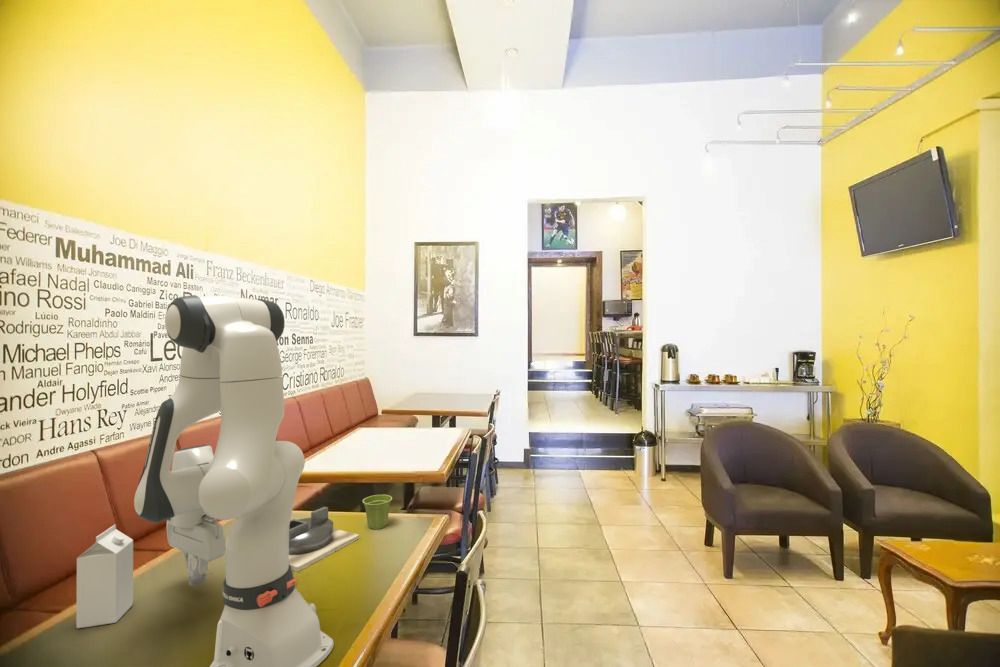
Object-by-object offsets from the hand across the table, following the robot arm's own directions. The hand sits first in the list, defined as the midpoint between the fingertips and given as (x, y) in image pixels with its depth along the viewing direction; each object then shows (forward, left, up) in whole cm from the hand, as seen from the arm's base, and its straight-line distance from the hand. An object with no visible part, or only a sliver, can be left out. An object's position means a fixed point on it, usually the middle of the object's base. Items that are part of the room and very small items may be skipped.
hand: (197, 570), depth 107 cm
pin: (0, 0, -3) cm, 3 cm away
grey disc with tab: (-2, -29, -4) cm, 29 cm away
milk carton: (+9, +14, -6) cm, 18 cm away
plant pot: (-11, -50, -6) cm, 51 cm away
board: (-2, -29, -6) cm, 29 cm away
